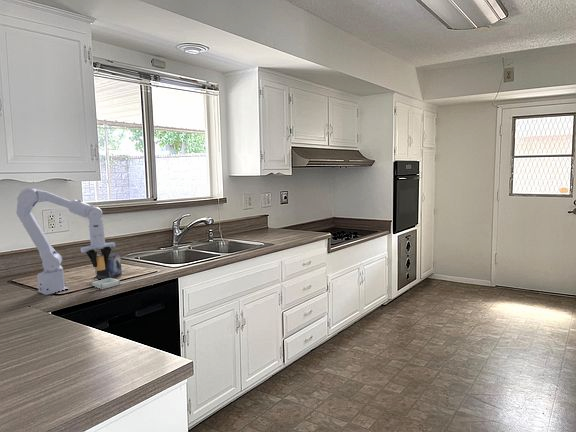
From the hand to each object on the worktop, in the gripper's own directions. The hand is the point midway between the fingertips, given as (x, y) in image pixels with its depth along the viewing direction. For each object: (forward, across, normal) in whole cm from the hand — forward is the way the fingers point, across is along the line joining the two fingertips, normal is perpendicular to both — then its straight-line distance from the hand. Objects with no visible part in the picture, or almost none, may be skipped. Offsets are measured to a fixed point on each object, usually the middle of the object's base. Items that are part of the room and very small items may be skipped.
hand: (100, 265), depth 189 cm
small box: (+9, -9, -10) cm, 16 cm away
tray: (+8, 0, +3) cm, 9 cm away
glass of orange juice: (+2, 0, 0) cm, 2 cm away
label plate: (+8, -8, -16) cm, 20 cm away
